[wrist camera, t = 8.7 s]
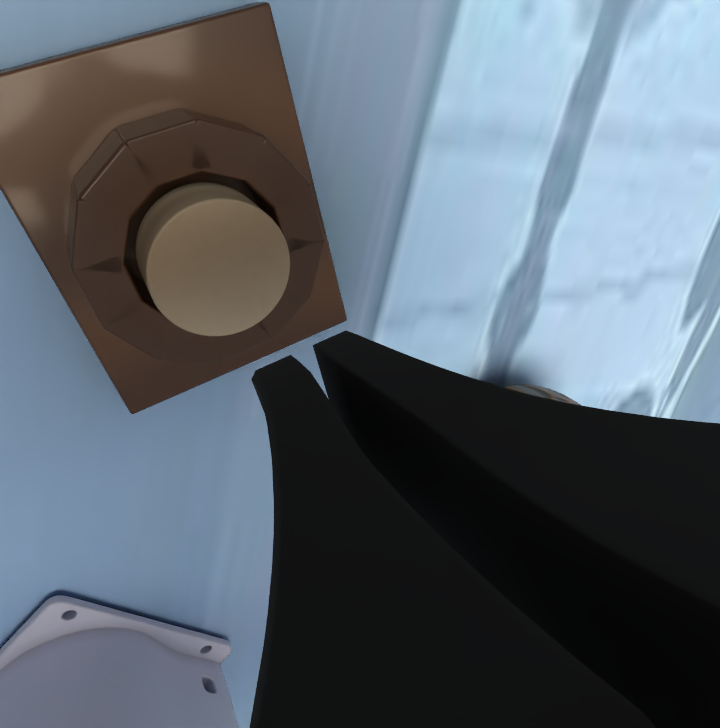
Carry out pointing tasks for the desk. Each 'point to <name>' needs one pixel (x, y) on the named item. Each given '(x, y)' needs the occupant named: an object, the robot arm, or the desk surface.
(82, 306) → the control block
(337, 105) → the desk surface
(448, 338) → the desk surface
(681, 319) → the desk surface
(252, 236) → the button
